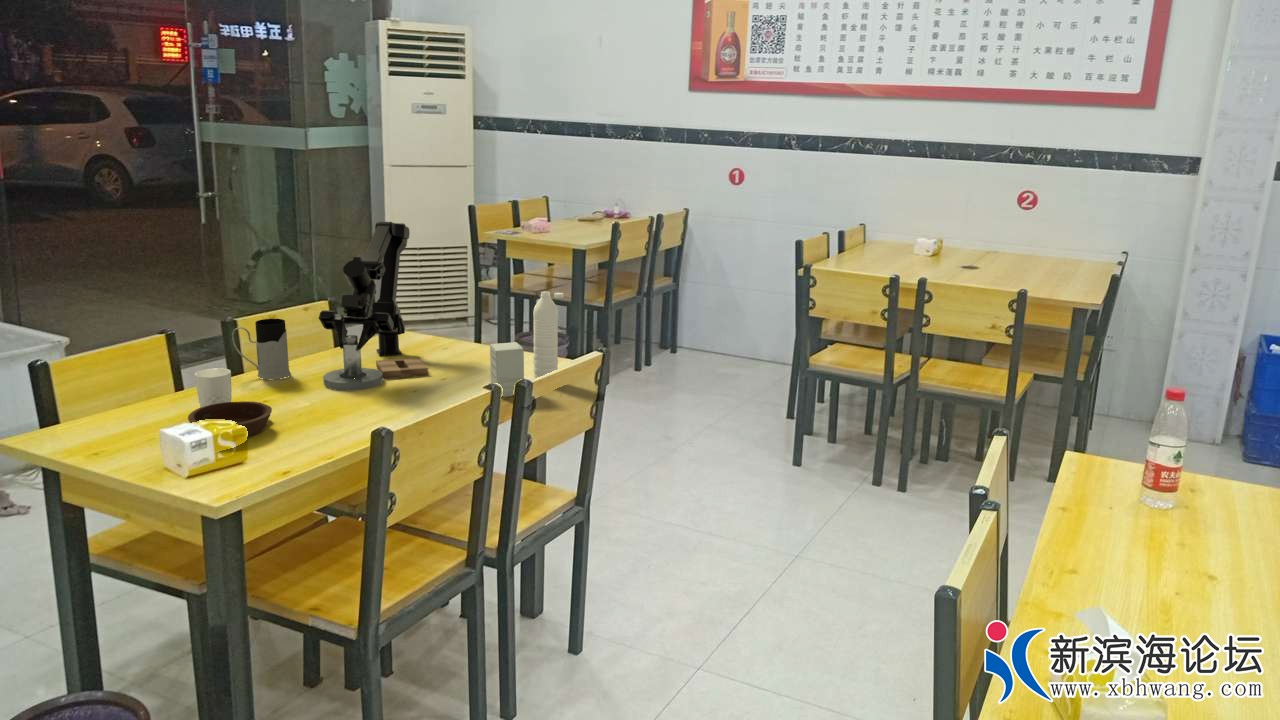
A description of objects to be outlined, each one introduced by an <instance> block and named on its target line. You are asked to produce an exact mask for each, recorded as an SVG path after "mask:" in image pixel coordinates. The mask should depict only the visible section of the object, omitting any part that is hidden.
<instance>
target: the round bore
mask: <svg viewBox="0 0 1280 720" xmlns="http://www.w3.org/2000/svg"><path fill="white" fill-rule="evenodd" d="M354 378H355V379H354ZM322 382H323V385H325V386H326V388H327V387H328V389H330V388H331V389H330V390H334V389H336V390H335V391H347V390H353V391H362V390H363V389H364V390H367V389H373V388H375V387H378V386H380V385H381V384H382V383H384V379H383V374H382V372H381V371H379V370H378V369H377V368H369V367H362V373H361V374H359V375H345V374H344V368H339V369H335V370H334V369H333V370H332V371H331V370H330V371H328V372H326V373H325V374H324V375H323V376H322ZM325 386H324V387H325Z"/></svg>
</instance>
